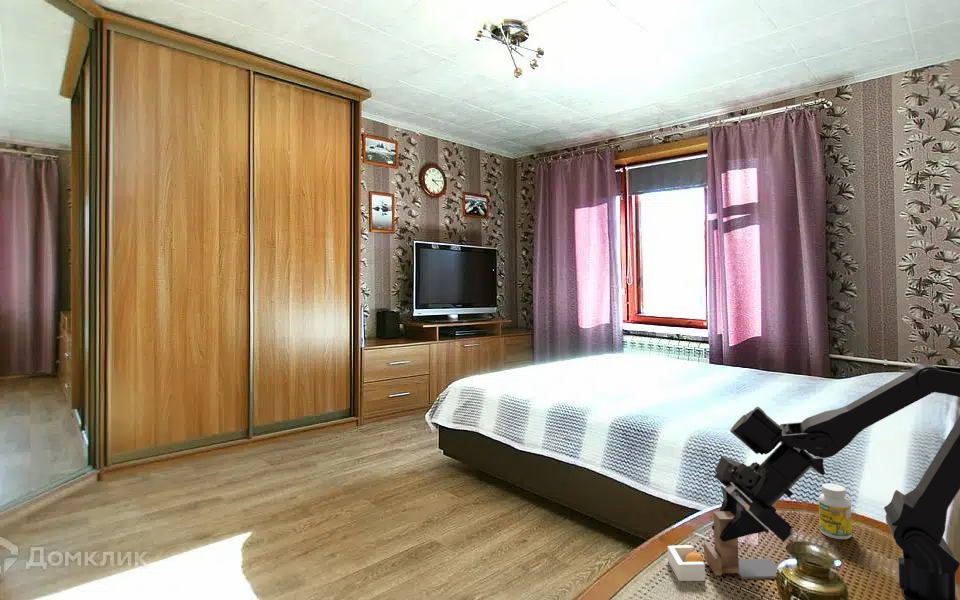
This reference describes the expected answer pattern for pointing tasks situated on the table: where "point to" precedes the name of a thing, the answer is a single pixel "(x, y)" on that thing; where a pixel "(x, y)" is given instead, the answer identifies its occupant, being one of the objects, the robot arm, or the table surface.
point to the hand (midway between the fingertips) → (717, 534)
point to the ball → (694, 557)
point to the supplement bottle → (835, 512)
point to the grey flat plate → (756, 568)
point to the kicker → (722, 547)
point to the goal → (685, 564)
